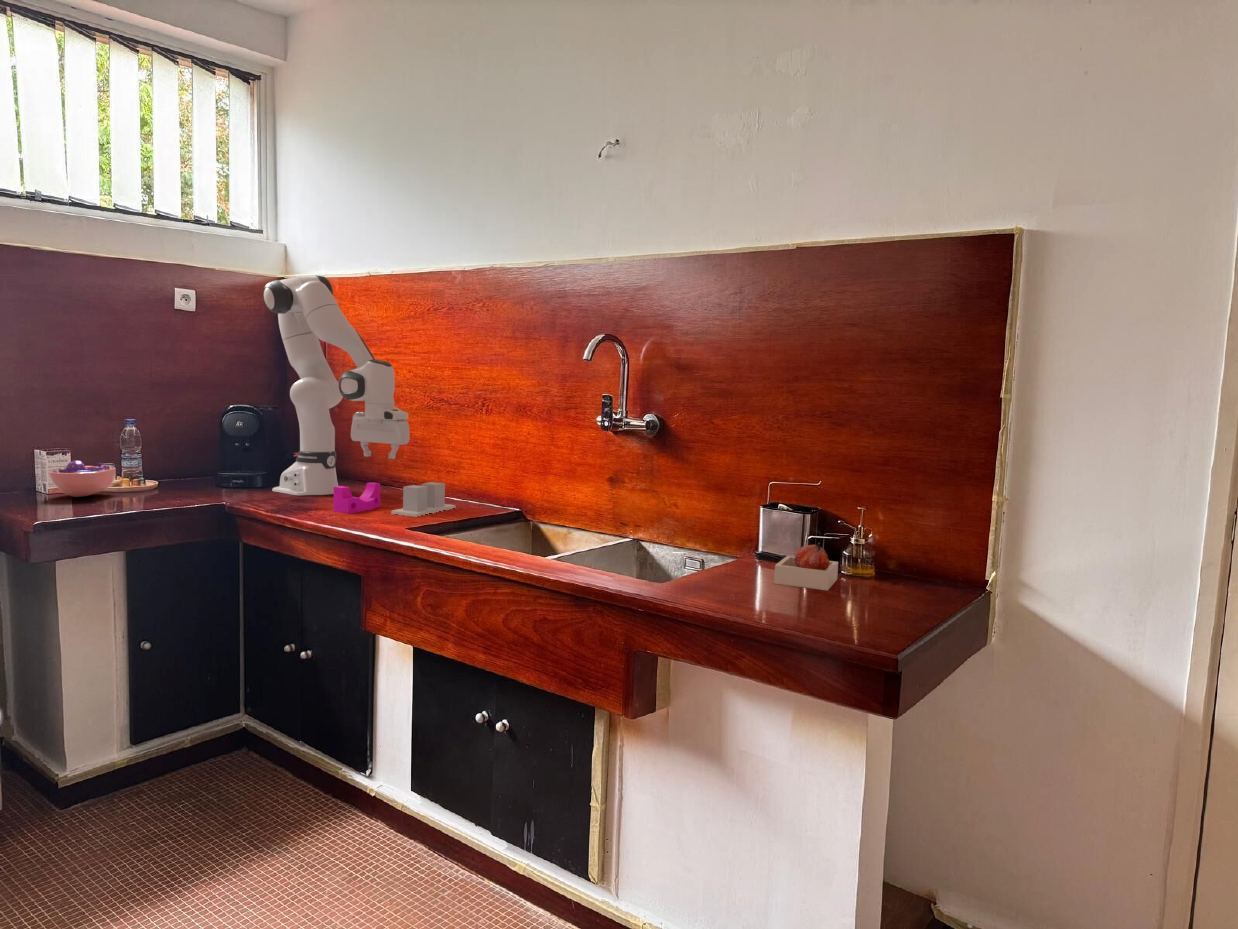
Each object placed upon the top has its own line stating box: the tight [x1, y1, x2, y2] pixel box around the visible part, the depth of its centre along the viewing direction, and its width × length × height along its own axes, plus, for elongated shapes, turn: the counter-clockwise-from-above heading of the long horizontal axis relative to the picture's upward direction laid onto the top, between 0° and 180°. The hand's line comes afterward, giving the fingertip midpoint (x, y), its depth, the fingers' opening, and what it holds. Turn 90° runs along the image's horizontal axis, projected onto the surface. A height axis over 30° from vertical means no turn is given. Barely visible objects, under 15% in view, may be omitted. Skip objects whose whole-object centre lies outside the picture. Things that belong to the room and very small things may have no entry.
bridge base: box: [390, 481, 457, 518], centre depth 264 cm, size 9×20×8 cm, turn 156°
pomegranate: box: [794, 542, 830, 570], centre depth 189 cm, size 7×7×10 cm
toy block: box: [333, 482, 381, 514], centre depth 264 cm, size 15×6×8 cm, turn 149°
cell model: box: [48, 459, 116, 498], centre depth 271 cm, size 17×20×11 cm
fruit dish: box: [773, 555, 839, 591], centre depth 191 cm, size 12×12×4 cm
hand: (379, 457), depth 270 cm, fingers open, 8 cm apart
